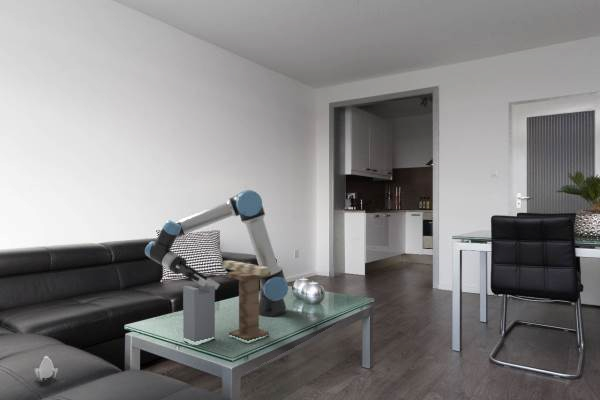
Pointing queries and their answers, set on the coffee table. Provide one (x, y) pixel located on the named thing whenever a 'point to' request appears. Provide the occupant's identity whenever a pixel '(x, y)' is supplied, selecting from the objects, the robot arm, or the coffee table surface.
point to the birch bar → (245, 267)
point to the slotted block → (199, 312)
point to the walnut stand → (248, 306)
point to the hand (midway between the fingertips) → (212, 285)
